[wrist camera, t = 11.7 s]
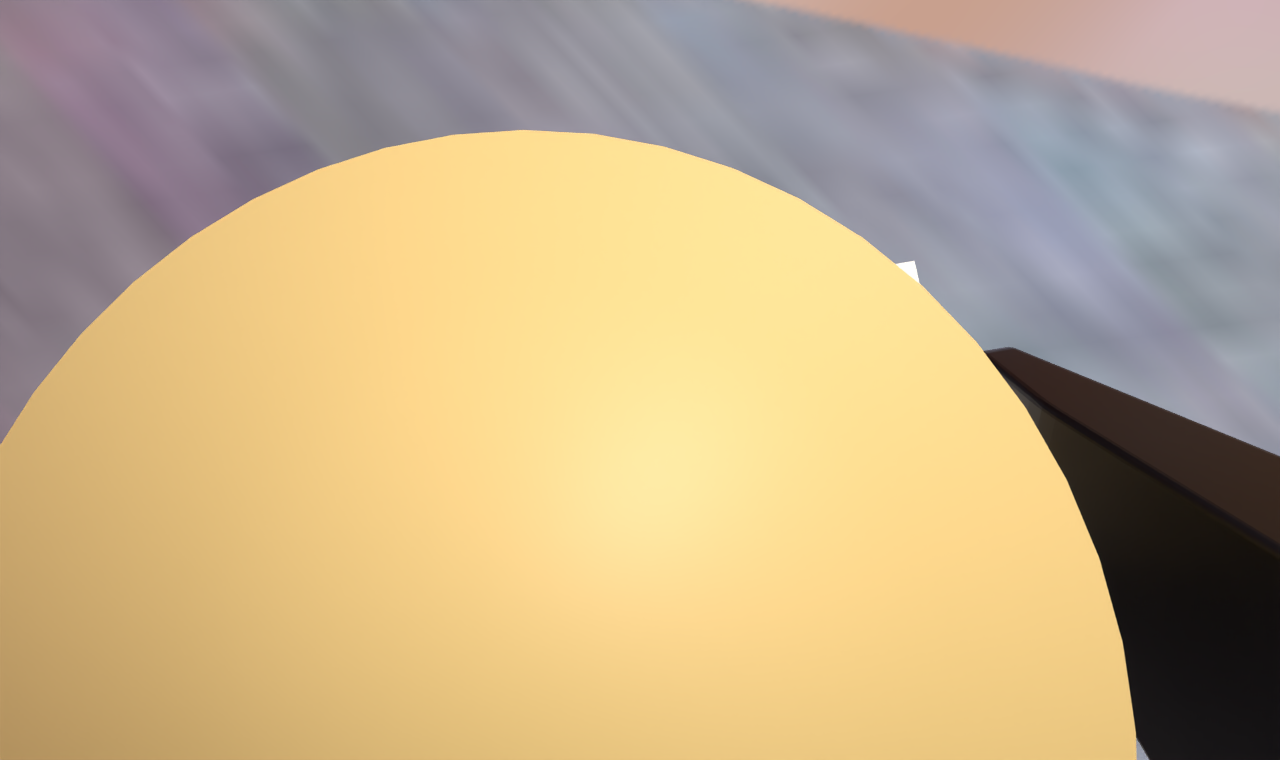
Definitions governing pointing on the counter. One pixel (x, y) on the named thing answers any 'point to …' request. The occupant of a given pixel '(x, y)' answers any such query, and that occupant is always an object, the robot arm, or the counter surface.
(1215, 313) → the counter surface
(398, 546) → the headed peg
